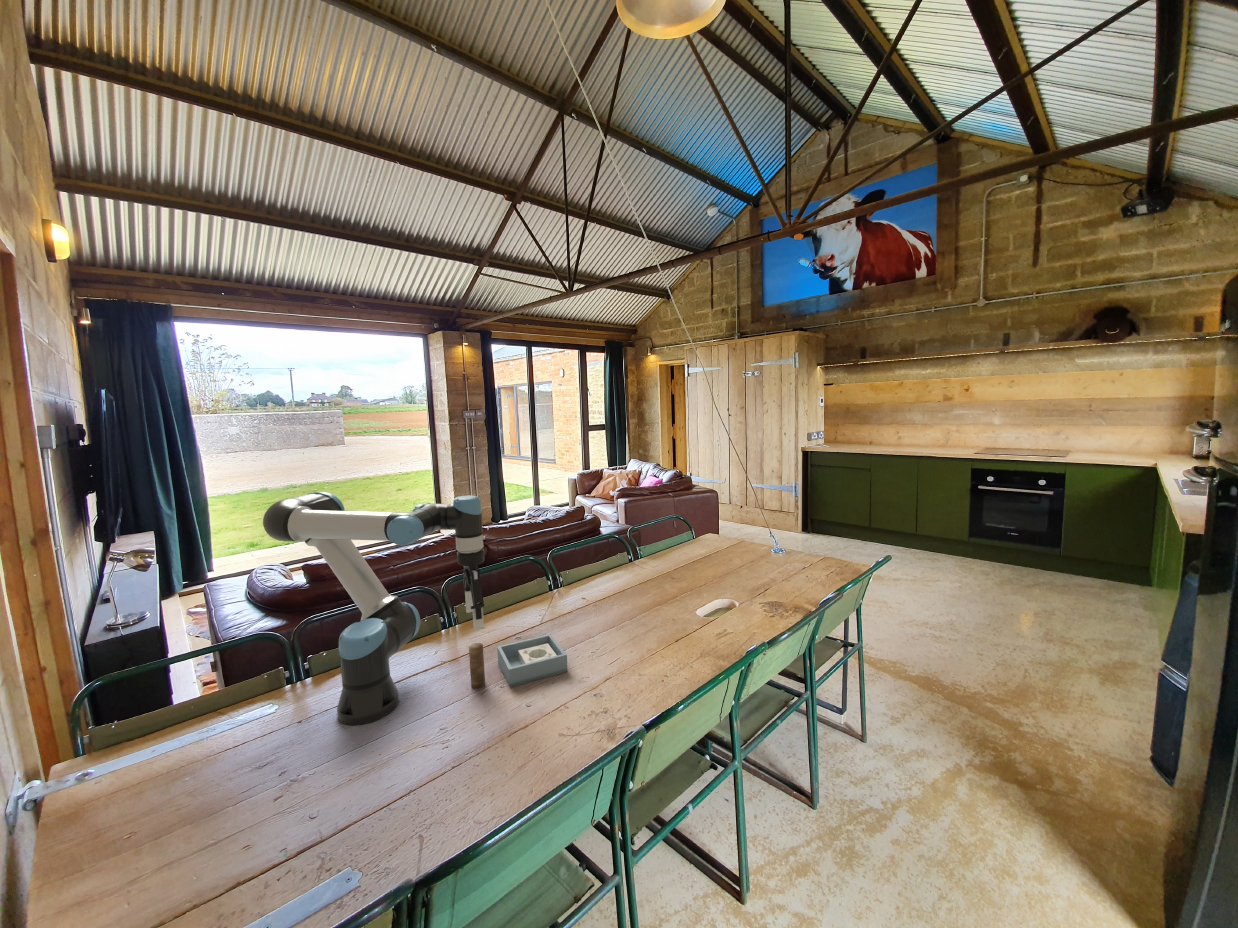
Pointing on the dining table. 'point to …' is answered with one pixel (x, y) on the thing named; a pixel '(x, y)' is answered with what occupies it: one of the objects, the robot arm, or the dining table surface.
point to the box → (532, 670)
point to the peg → (477, 665)
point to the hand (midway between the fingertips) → (474, 620)
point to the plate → (535, 653)
